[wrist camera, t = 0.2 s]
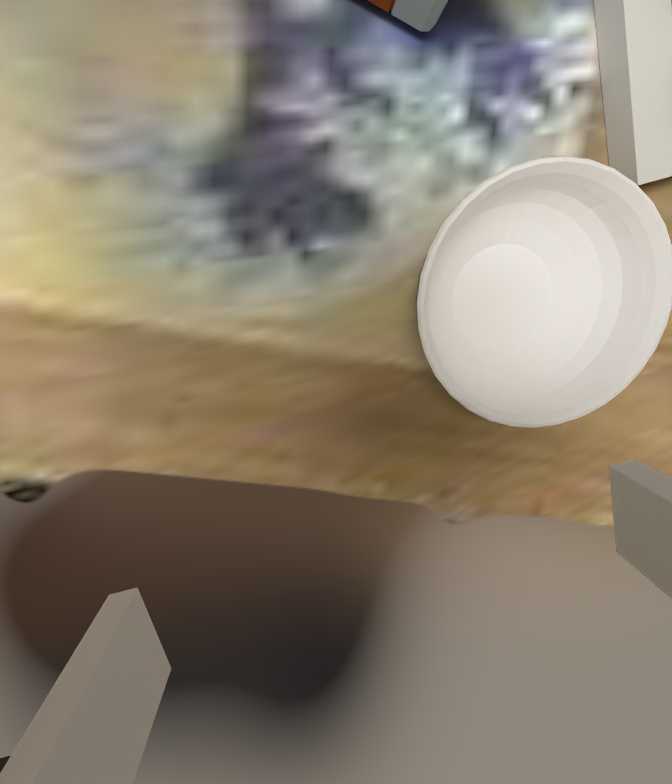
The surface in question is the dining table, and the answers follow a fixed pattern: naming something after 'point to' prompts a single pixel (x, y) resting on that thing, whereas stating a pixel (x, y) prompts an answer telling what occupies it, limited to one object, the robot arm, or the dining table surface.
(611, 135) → the board
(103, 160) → the dining table surface
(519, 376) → the bowl
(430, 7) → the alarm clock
